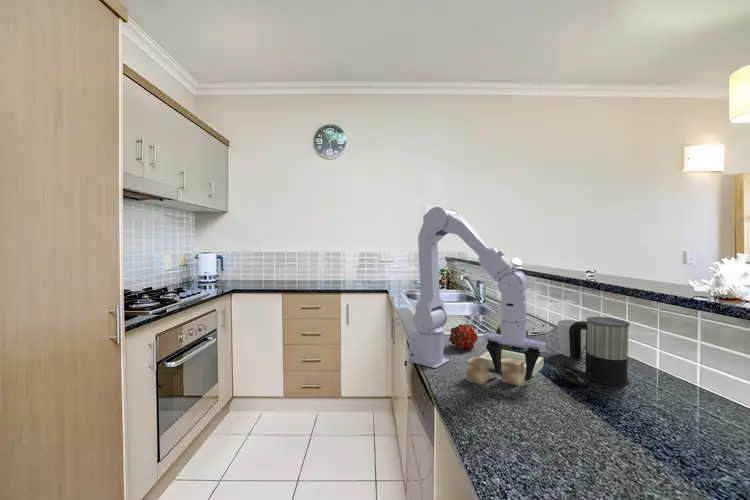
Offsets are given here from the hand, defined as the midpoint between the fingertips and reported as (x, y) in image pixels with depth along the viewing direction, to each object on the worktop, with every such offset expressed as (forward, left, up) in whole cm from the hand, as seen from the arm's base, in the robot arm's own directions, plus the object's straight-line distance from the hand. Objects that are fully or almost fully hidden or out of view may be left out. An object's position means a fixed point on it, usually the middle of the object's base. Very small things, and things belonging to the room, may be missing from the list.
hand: (513, 375), depth 88 cm
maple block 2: (0, 0, -2) cm, 2 cm away
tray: (-4, +10, -1) cm, 11 cm away
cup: (+7, +31, -2) cm, 32 cm away
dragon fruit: (-22, +18, -2) cm, 28 cm away
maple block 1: (-7, -5, -2) cm, 9 cm away
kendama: (-11, +28, -2) cm, 30 cm away
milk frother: (+15, +13, -2) cm, 20 cm away
